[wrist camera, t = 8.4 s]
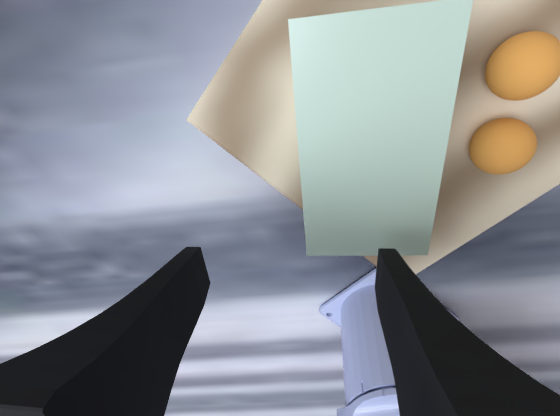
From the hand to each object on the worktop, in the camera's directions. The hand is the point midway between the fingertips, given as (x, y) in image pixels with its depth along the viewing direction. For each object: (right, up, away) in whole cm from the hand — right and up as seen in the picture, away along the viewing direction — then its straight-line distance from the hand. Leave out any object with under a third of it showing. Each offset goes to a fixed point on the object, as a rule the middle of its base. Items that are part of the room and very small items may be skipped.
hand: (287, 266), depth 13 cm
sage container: (+4, +8, +6) cm, 11 cm away
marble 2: (+12, +6, +4) cm, 14 cm away
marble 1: (+11, +9, +2) cm, 15 cm away
